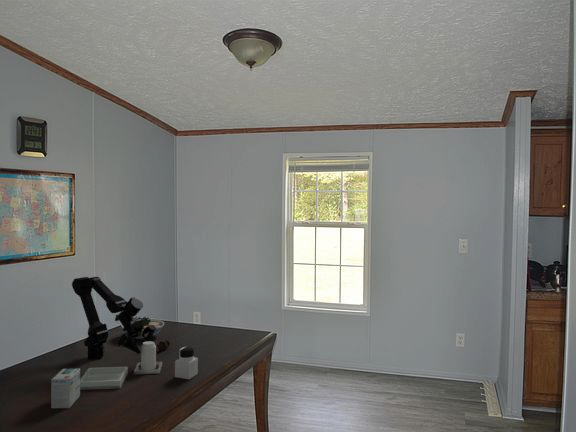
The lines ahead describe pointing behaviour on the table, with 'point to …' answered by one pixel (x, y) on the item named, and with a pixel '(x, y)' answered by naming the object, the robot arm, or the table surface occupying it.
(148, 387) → the table surface
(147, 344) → the beverage can
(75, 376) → the light bulb box
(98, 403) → the table surface
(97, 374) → the tray
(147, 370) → the grey square frame
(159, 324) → the ramen bowl
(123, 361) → the table surface
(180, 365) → the medicine bottle
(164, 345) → the bolt
